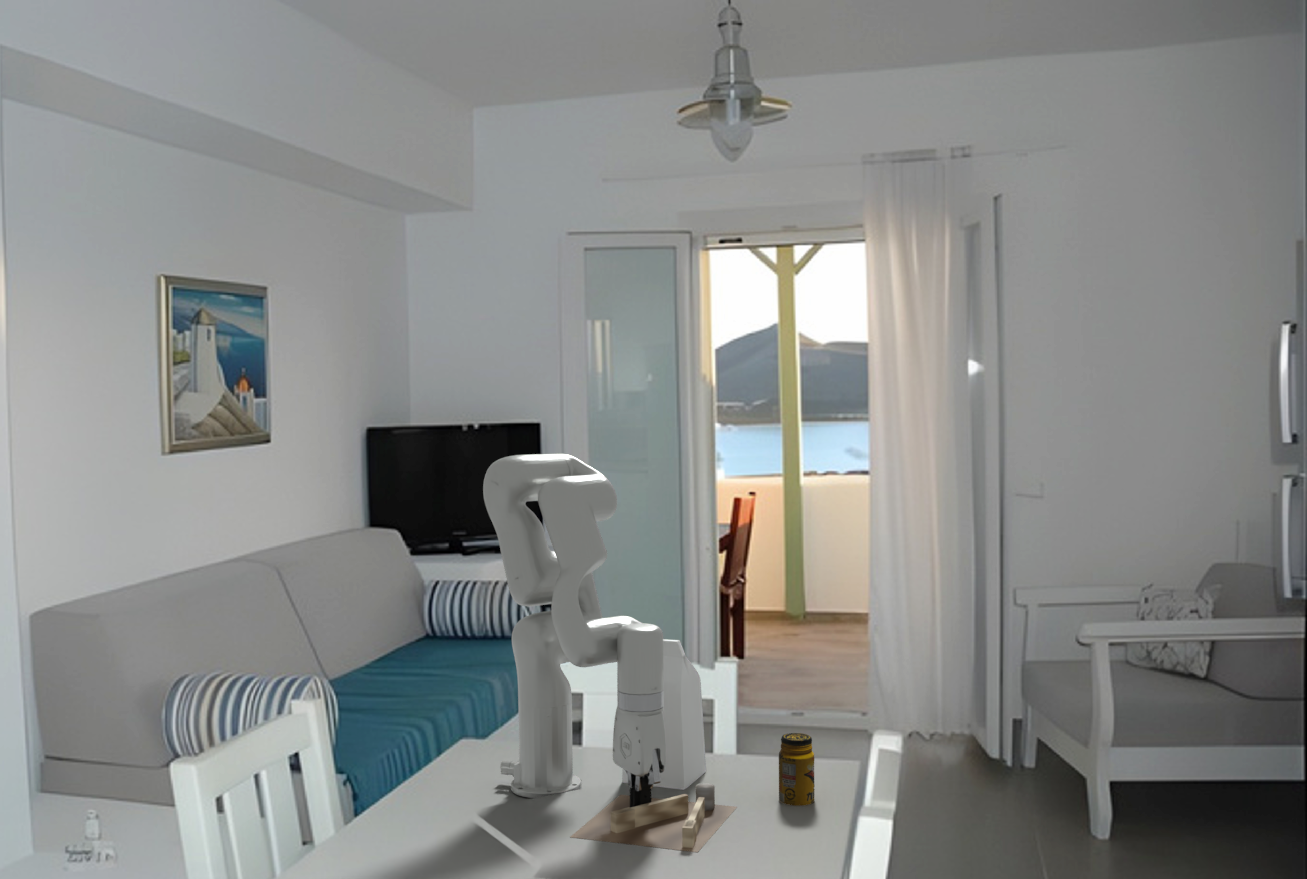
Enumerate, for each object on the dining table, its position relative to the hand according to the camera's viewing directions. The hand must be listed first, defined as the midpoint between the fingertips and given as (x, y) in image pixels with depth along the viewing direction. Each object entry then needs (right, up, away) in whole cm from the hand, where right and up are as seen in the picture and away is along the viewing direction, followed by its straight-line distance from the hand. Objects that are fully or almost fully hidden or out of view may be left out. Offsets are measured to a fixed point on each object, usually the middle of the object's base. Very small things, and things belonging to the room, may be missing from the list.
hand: (640, 811), depth 202 cm
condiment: (+26, -2, +8) cm, 27 cm away
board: (+3, -2, -1) cm, 4 cm away
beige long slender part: (+9, -1, -3) cm, 10 cm away
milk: (+4, -2, +23) cm, 23 cm away
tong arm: (+2, -1, -2) cm, 3 cm away
